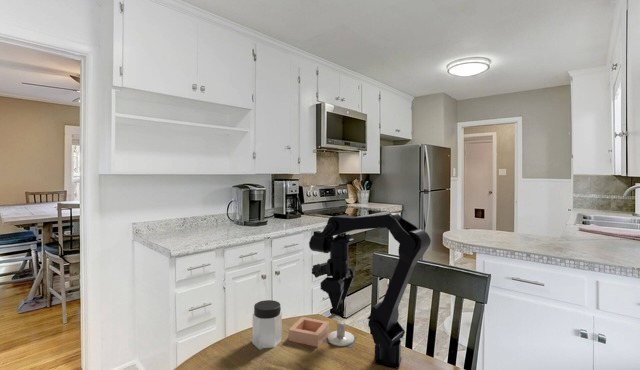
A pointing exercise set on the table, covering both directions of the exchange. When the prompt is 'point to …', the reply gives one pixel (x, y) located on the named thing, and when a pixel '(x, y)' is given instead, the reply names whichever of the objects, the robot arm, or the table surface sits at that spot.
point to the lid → (340, 336)
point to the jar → (267, 324)
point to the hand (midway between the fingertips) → (339, 304)
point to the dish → (309, 331)
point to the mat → (345, 346)
